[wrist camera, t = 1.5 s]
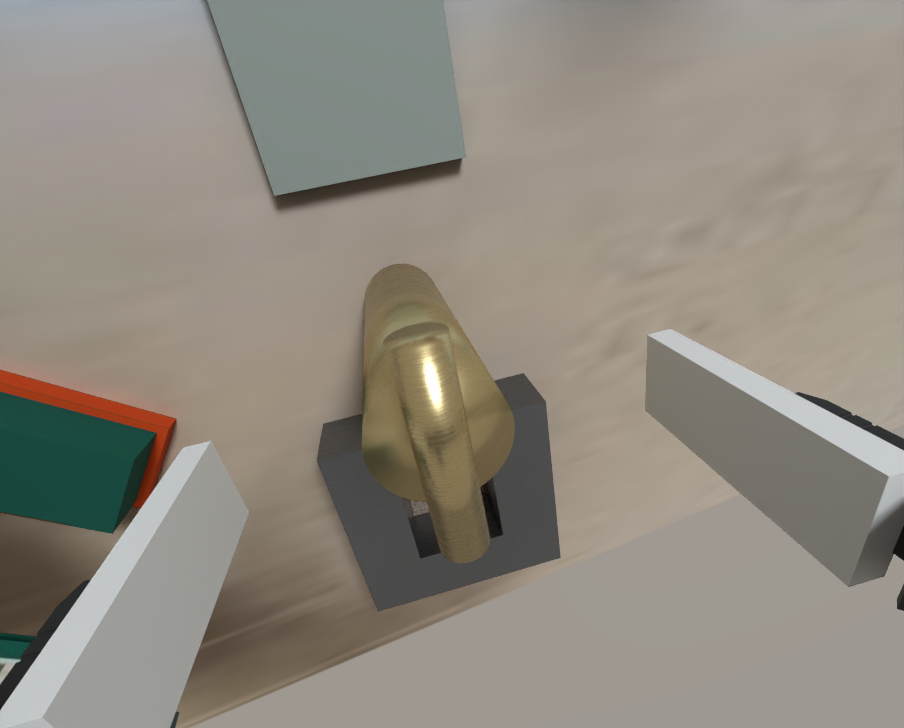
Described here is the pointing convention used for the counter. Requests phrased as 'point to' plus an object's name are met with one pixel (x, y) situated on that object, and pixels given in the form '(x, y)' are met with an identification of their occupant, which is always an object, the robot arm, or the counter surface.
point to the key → (430, 409)
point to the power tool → (73, 463)
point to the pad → (342, 86)
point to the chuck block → (413, 537)
